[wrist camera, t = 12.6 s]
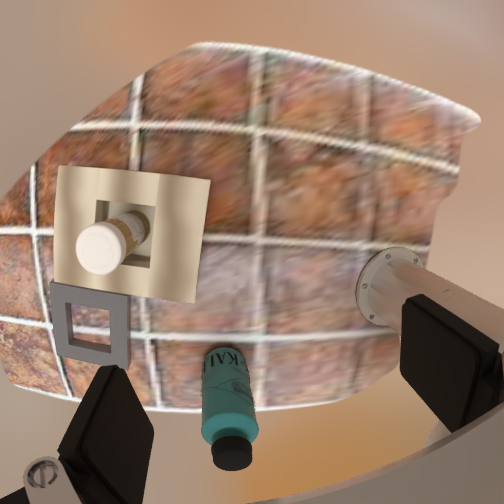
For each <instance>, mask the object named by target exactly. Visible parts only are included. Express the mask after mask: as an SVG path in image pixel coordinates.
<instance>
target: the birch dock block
mask: <svg viewBox="0 0 504 504" xmlns="http://www.w3.org/2000/svg"><path fill="white" fill-rule="evenodd" d="M210 182H211V180H209V179H202V178H194V177H187V176H178V175H170V174H161V173H152V172H143V171H133V170H122V169H111V168H98V167H85V166H59V169H58V178H57V189H56V201H55V218H54V282H59V283H64V284H70V285H75V286H81V287H86V288H92V289H98V290H104V291H110V292H116V293H123V294H129V295H136V296H142V297H149V298H156V299H163V300H171V301H178V302H186V303H194V304H195V295H196V287H197V279H198V270H199V262H200V254H201V246H202V238H203V231H204V224H205V216H206V209H207V202H208V196H209V189H210ZM129 210H137V211H140V212H142V213H143V214H145V216H146V217H147V218H148V220H149V223H150V233H149V236H148V238H147V239H146V240H145V241H144V242H143V243H142V244H140V245H139V246H138V247H137V248H136V249H135V250H134V251H133V252H131V253H130V254H129V255H128V256H126V257H125V258H124V260H123V262H122V263H121V264H120V265H119V266H118V267H117V268H116V269H115V270H114V271H112V272H111V273H109V274H106V275H95V274H92V273H90V272H88V271H87V270H85V269H84V268H83V267H82V265H81V264H80V262H79V261H78V258H77V255H76V241H77V238H78V236H79V234H80V233H81V231H82V230H83V229H85V228H86V227H88V226H90V225H92V224H94V223H97V222H103V221H105V220H107V219H109V218H112V217H115V216H117V215H120V214H123V213H125V212H127V211H129Z"/></svg>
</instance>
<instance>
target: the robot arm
mask: <svg viewBox="0 0 504 504" xmlns="http://www.w3.org/2000/svg"><path fill="white" fill-rule="evenodd" d="M356 297H357V304H358V307H359V309H360V311H361V313H362V314H363V316H364V317H365V318H366V319H367V320H368V321H370V322H372V323H373V324H376V325H380V326H387V325H389V326H390V327H392V328H393V329H394V330H395V331H396V332H397V333H398V334H399V335H400V336H401V353H400V372H401V375H402V376H403V378H404V379H405V380H406V381H407V382H408V383H409V385H410V386H411V387H412V388H413V389H414V390H415V391H416V393H417V394H418V395H419V396H420V397H421V398H422V400H423V401H424V402H425V403H426V404H427V405H428V407H429V408H430V409H431V410H432V411H433V412H434V414H435V415H436V416H437V417H438V418H439V421H438V422H437V424H436V425H435V427H434V428H433V430H432V431H431V433H430V435H429V437H428V440H427V444H426V447H425V448H423V449H421V450H419V451H417V452H415V453H413V454H411V455H408V456H406V457H404V458H402V459H400V460H397V461H395V462H392V463H390V464H388V465H385V466H383V467H380V468H378V469H375V470H372V471H370V472H367V473H364V474H362V475H359V476H356V477H353V478H350V479H347V480H344V481H341V482H338V483H335V484H332V485H328V486H325V487H321V488H318V489H315V490H310V491H307V492H303V493H298V494H294V495H290V496H286V497H282V498H276V499H271V500H266V501H260V502H255V503H248V504H504V309H503V308H500V307H498V306H496V305H494V304H492V303H490V302H488V301H486V300H484V299H482V298H480V297H478V296H476V295H474V294H473V293H471V292H469V291H467V290H465V289H463V288H461V287H459V286H457V285H455V284H454V283H452V282H450V281H448V280H446V279H444V278H442V277H440V276H438V275H436V274H434V273H432V272H430V271H428V270H426V269H424V266H423V263H422V261H421V260H420V258H419V257H418V256H417V255H416V254H415V253H414V252H412V251H410V250H408V249H406V248H401V247H392V248H389V249H385V250H384V251H382V252H380V253H378V254H377V255H376V256H374V257H373V258H372V259H371V260H370V261H369V262H368V264H367V265H366V267H365V268H364V270H363V271H362V274H361V276H360V278H359V281H358V285H357V291H356ZM153 438H154V429H153V426H152V424H151V422H150V420H149V418H148V416H147V414H146V413H145V411H144V409H143V407H142V405H141V403H140V401H139V399H138V397H137V395H136V393H135V391H134V389H133V387H132V385H131V383H130V380H129V378H128V376H127V374H126V372H125V370H124V369H123V368H119V366H118V365H107V366H101V367H100V368H99V369H98V371H97V373H96V375H95V376H94V378H93V380H92V382H91V384H90V386H89V388H88V390H87V391H86V393H85V395H84V397H83V399H82V401H81V403H80V405H79V407H78V409H77V411H76V413H75V415H74V417H73V419H72V421H71V423H70V425H69V427H68V429H67V431H66V433H65V435H64V437H63V439H62V441H61V443H60V445H59V448H58V450H57V451H58V452H59V454H60V456H59V458H58V459H56V458H54V457H41V458H38V459H36V460H35V461H33V462H32V463H31V464H30V465H28V466H27V468H26V470H25V472H24V475H23V482H24V486H25V487H23V488H21V489H19V490H17V491H15V492H13V493H11V494H9V495H7V496H5V497H3V498H1V499H0V504H142V502H143V496H144V489H145V483H146V477H147V471H148V466H149V460H150V455H151V449H152V443H153Z"/></svg>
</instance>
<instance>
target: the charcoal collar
mask: <svg viewBox="0 0 504 504" xmlns="http://www.w3.org/2000/svg"><path fill="white" fill-rule="evenodd" d="M50 298H51V310H52V321H53V330H54V338H55V345H56V352H57V355H59V356H63V357H67V358H71V359H75V360H80V361H84V362H88V363H93V364H98V365H103V366H107V365H118V366H119V368H123V369H124V370H128V369H129V366H130V363H131V357H130V300H131V295H129V294H123V293H116V292H110V291H104V290H98V289H92V288H86V287H81V286H75V285H70V284H64V283H59V282H54V280H52V281H51V282H50ZM71 303H72V304H77V305H82V306H88V307H93V308H99V309H104V310H110V339H111V346H108V345H103V344H97V343H92V342H88V341H83V340H78V339H74V338H73V328H72V315H71Z"/></svg>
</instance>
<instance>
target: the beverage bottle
mask: <svg viewBox="0 0 504 504" xmlns="http://www.w3.org/2000/svg"><path fill="white" fill-rule="evenodd" d="M243 357H244V356H243V355H242V354H240V353H239V352H238V351H236V350H234V349H232V348H226V347H223V348H217V349H215V350H213V351H211V352H210V353H209V354H208V355H207V356H206V357H205V359H204V361H203V363H202V364H203V365H202V366H203V369H202V372H203V374H202V382H201V383H202V384H201V385H202V390H201V391H202V428H201V433H202V436H203V438H204V439H205V441H206V442H207V443H209V444H210V445H212V447H211V452H212V455H213V462H214V464H215V465H216V466H217V467H218V468H220V469H222V470H226V471H237V470H241V469H244V468H246V467H248V466H249V465H250V464H251V462H252V445H251V443H252V442H253V441H254V440H255V439H256V437H257V435H258V431H259V428H258V424H257V421H256V415H255V409H254V403H255V402H254V401H253V400H254V397H252V394H253V393H252V392H251V388H250V378H248V376H249V375H248V374H249V372H247V371H248V369H247V367H248V366H246V363H247V362H245V360H246V359H244V358H243ZM253 402H254V403H253Z"/></svg>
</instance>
